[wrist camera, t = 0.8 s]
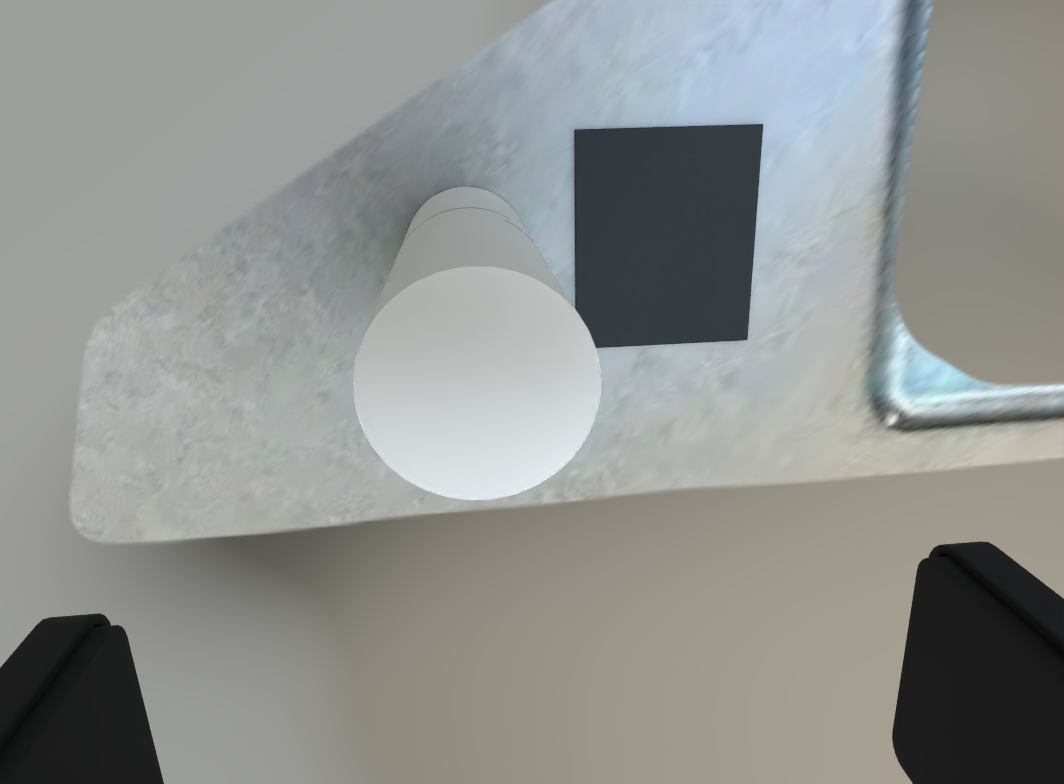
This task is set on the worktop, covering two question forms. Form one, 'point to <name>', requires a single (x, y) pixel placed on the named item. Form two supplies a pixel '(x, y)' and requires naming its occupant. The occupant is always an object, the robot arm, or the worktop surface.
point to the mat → (665, 232)
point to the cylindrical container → (474, 356)
